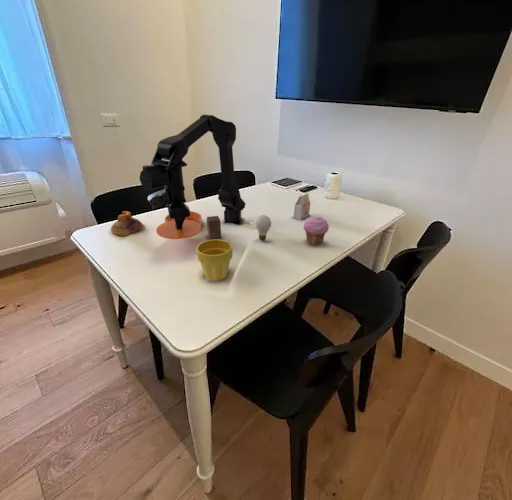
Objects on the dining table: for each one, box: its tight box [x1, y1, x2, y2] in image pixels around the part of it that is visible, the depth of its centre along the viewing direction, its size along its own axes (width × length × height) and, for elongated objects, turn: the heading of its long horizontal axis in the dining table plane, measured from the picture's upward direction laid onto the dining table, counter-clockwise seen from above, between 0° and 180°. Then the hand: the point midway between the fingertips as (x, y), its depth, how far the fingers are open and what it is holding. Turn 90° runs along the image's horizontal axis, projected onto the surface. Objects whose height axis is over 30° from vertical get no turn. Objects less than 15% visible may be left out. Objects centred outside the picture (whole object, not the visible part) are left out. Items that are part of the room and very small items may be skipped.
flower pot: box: [195, 239, 233, 281], centre depth 90 cm, size 10×10×10 cm
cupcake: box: [302, 215, 330, 246], centre depth 110 cm, size 9×9×10 cm
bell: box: [110, 210, 144, 237], centre depth 117 cm, size 12×12×7 cm
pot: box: [164, 210, 203, 227], centre depth 121 cm, size 14×14×4 cm
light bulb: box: [254, 214, 272, 242], centre depth 110 cm, size 6×6×10 cm
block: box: [206, 215, 222, 240], centre depth 112 cm, size 4×4×8 cm
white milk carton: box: [293, 193, 311, 221], centre depth 132 cm, size 4×7×10 cm, turn 139°
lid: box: [155, 219, 202, 240], centre depth 102 cm, size 15×15×6 cm
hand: (179, 227), depth 103 cm, fingers closed on lid, 2 cm apart
